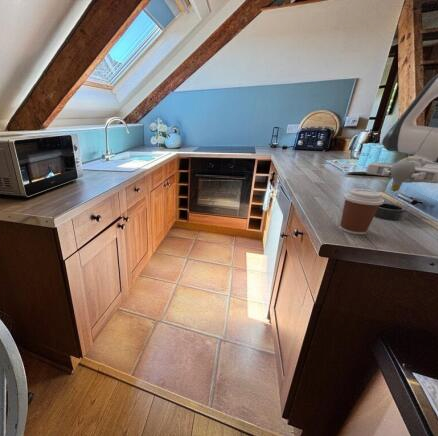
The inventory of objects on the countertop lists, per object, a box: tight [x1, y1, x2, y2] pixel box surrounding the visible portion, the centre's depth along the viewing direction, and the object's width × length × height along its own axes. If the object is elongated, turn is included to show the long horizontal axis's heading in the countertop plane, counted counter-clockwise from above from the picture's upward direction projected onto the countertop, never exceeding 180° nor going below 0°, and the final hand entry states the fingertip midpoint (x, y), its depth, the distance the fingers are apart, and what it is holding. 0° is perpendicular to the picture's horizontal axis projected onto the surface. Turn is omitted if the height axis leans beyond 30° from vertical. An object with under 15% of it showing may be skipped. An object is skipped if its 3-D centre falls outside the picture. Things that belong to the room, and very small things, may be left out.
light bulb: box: [390, 160, 415, 192], centre depth 79 cm, size 6×6×10 cm
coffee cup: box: [339, 188, 385, 235], centre depth 72 cm, size 9×9×12 cm
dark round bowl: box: [374, 202, 406, 221], centre depth 83 cm, size 8×8×4 cm
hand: (399, 175), depth 78 cm, fingers closed on light bulb, 5 cm apart
